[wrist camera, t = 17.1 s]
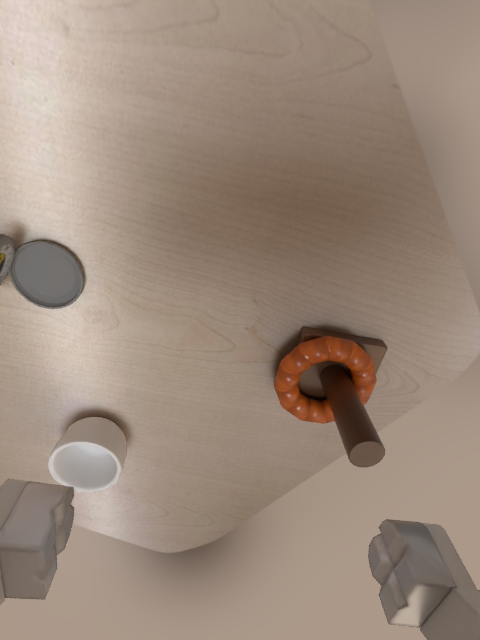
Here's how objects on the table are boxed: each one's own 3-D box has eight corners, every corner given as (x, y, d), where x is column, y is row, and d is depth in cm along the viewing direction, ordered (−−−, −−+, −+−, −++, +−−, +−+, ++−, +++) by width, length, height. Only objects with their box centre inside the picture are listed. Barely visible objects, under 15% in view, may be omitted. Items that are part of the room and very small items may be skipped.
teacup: (86, 396, 43) (69, 430, 38) (144, 426, 45) (135, 462, 40) (47, 448, 46) (26, 485, 42) (103, 474, 49) (89, 512, 44)
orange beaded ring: (385, 342, 39) (394, 354, 37) (351, 418, 44) (357, 433, 42) (288, 324, 38) (292, 336, 36) (264, 405, 42) (266, 419, 40)
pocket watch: (92, 302, 38) (51, 357, 29) (8, 307, 38) (-60, 363, 29) (72, 219, 34) (18, 253, 25) (-22, 224, 34) (-110, 260, 25)
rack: (382, 340, 41) (441, 420, 30) (354, 405, 45) (396, 497, 34) (302, 326, 40) (332, 404, 29) (280, 393, 44) (299, 485, 33)
